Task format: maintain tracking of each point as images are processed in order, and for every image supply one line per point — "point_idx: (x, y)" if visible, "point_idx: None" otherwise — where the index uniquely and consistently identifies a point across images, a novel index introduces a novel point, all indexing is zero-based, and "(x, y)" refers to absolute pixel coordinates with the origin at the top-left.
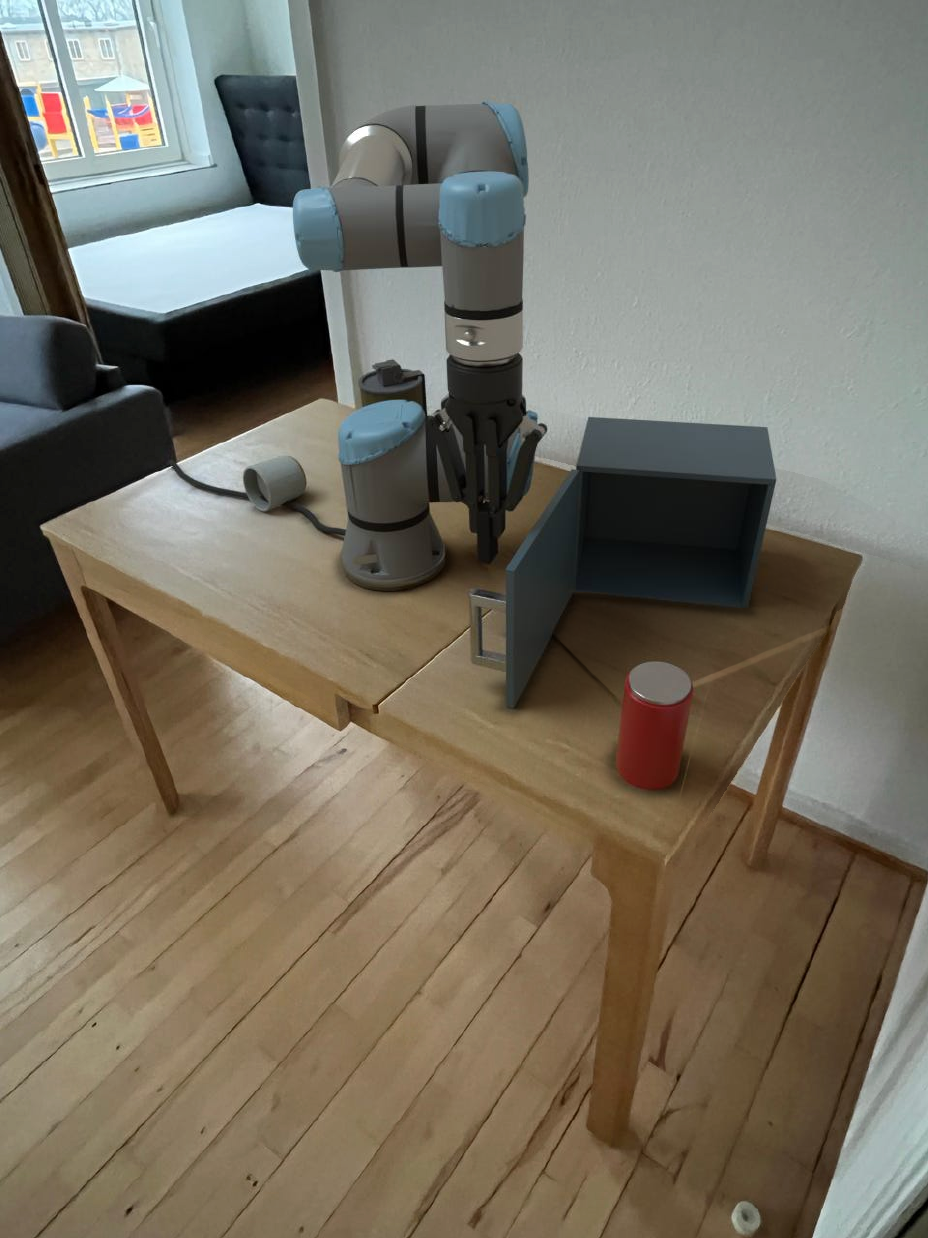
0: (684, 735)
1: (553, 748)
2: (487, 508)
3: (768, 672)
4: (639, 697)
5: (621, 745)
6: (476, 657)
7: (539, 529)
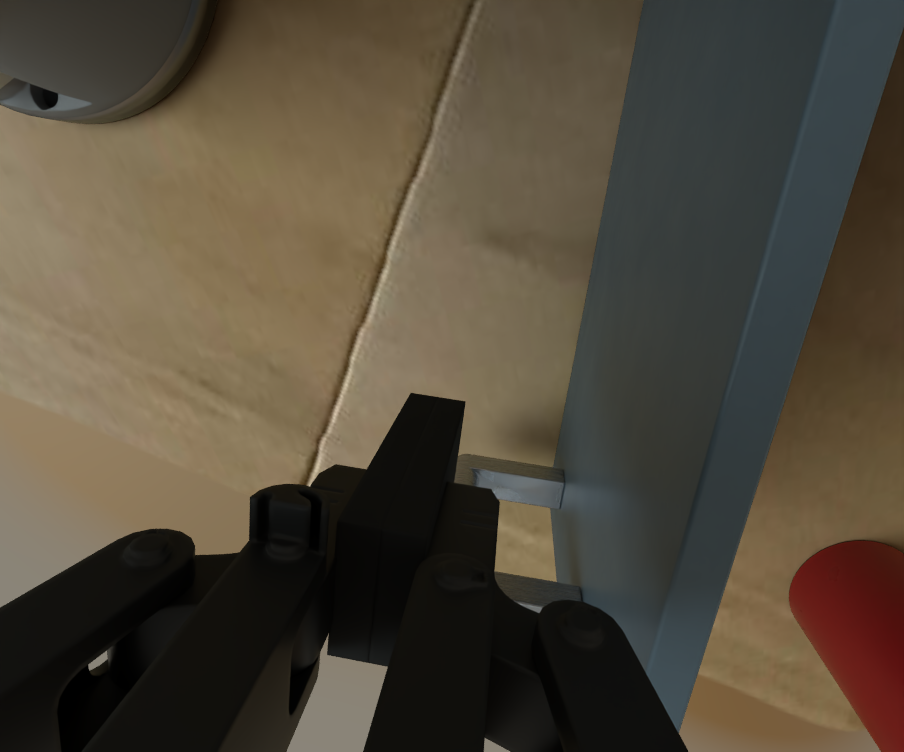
0: None
1: None
2: (380, 609)
3: None
4: None
5: (830, 672)
6: None
7: (716, 597)
